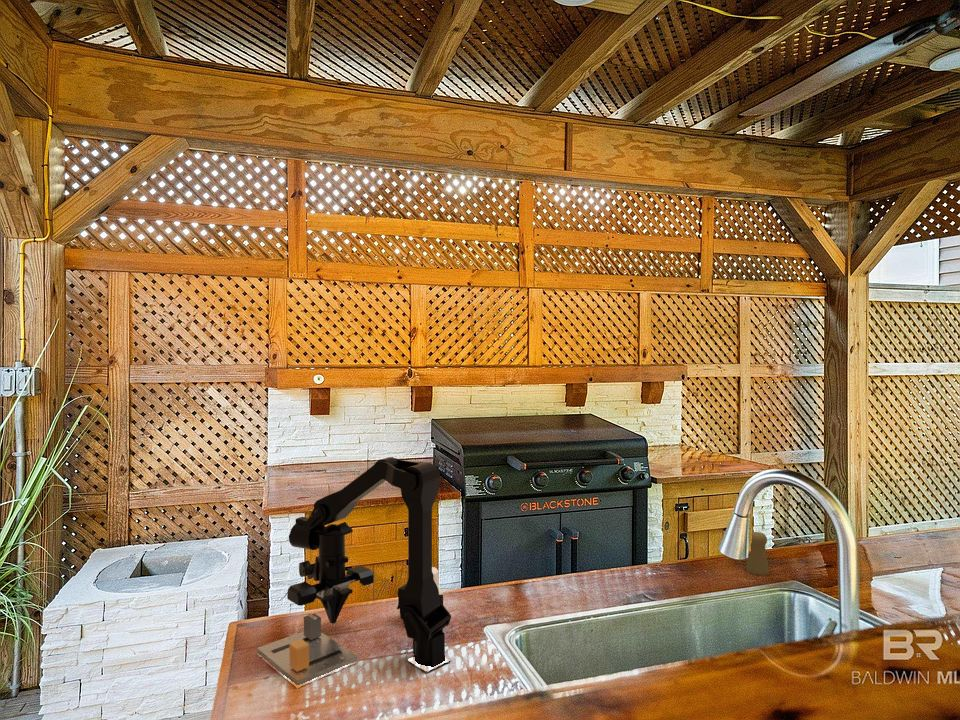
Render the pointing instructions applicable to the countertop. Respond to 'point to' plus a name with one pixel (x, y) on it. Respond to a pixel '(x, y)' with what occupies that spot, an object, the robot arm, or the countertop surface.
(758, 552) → the brown tall tapered piece
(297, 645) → the orange fader
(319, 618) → the charcoal fader
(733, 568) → the countertop surface
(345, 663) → the console
